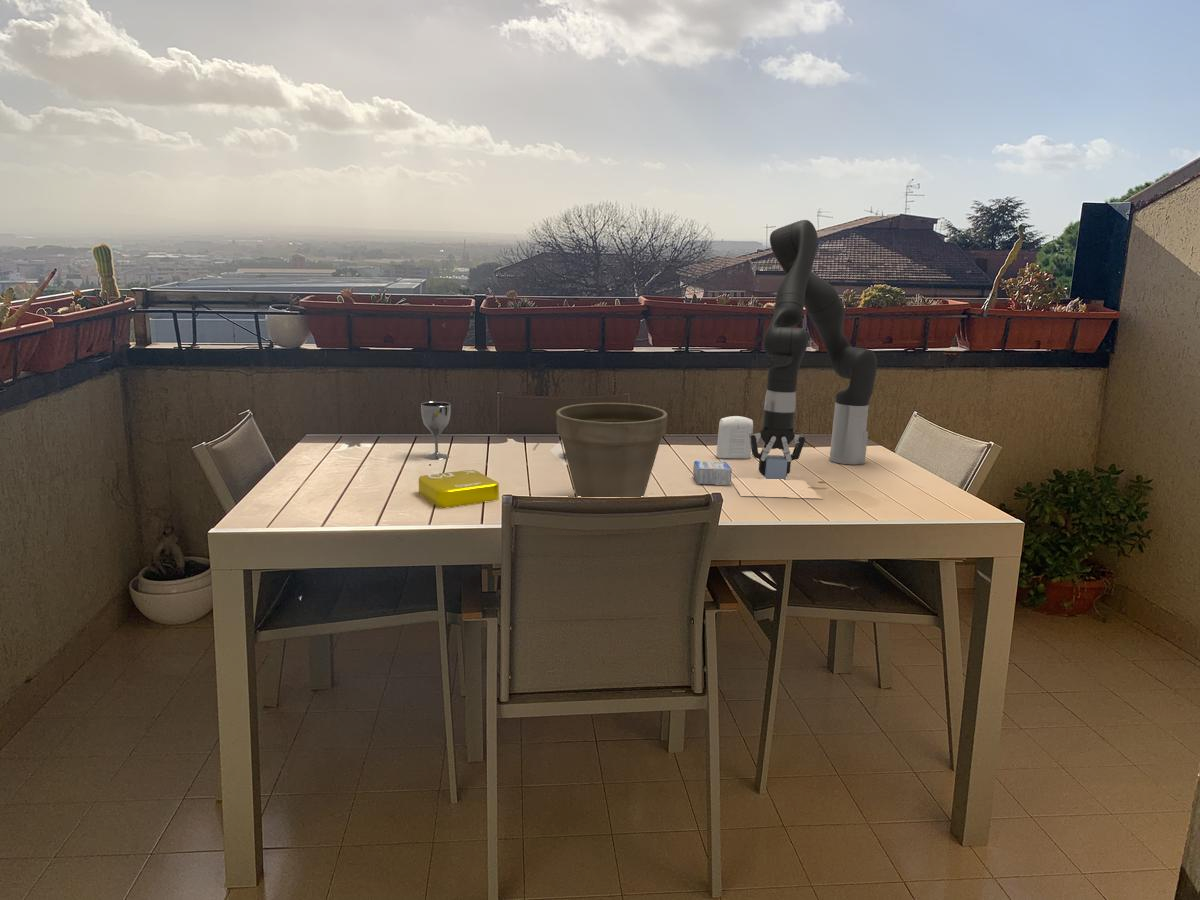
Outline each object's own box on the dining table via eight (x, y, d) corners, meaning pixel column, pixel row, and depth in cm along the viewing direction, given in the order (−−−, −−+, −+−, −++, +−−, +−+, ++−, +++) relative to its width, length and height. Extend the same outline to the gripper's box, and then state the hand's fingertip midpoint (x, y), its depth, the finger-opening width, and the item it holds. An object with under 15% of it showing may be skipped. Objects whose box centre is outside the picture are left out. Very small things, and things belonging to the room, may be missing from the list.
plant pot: (544, 515, 168) (545, 417, 163) (564, 485, 192) (566, 399, 187) (658, 523, 165) (664, 424, 160) (665, 492, 189) (670, 404, 184)
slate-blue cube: (781, 474, 198) (783, 455, 197) (785, 479, 193) (787, 460, 192) (761, 473, 198) (763, 454, 197) (765, 478, 193) (767, 459, 192)
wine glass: (416, 458, 214) (415, 404, 211) (432, 452, 221) (431, 400, 218) (440, 461, 211) (440, 407, 208) (456, 455, 218) (456, 403, 215)
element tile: (440, 510, 170) (440, 489, 169) (416, 493, 182) (415, 474, 181) (502, 501, 178) (502, 481, 177) (474, 485, 191) (474, 467, 189)
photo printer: (748, 456, 230) (751, 415, 227) (752, 459, 226) (756, 417, 223) (714, 456, 228) (717, 414, 226) (718, 459, 224) (721, 417, 221)
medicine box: (732, 468, 196) (698, 467, 195) (730, 485, 197) (696, 484, 196) (726, 461, 203) (693, 460, 203) (725, 477, 204) (692, 476, 204)
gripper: (804, 407, 195) (798, 472, 199) (748, 404, 195) (742, 470, 199) (812, 412, 188) (805, 479, 192) (753, 410, 188) (747, 477, 192)
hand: (773, 474), depth 195 cm, fingers closed on slate-blue cube, 5 cm apart
